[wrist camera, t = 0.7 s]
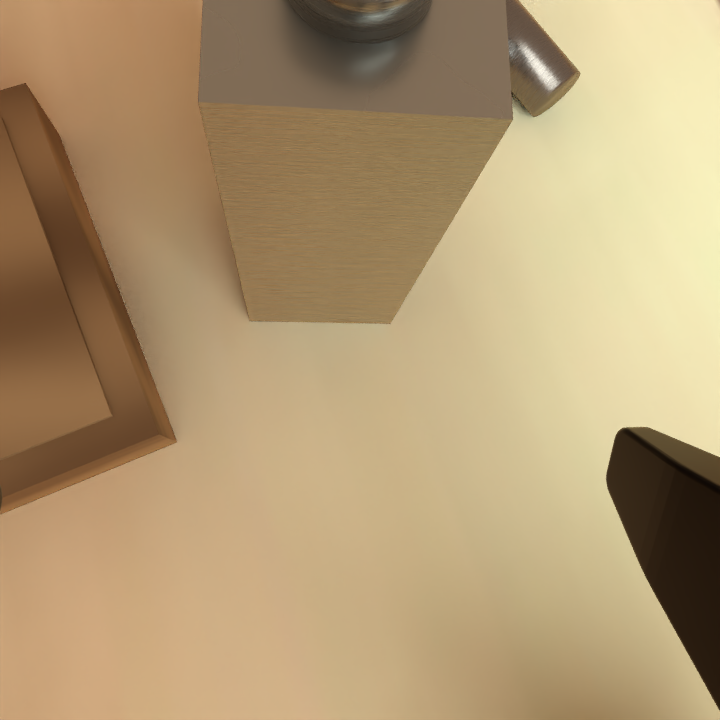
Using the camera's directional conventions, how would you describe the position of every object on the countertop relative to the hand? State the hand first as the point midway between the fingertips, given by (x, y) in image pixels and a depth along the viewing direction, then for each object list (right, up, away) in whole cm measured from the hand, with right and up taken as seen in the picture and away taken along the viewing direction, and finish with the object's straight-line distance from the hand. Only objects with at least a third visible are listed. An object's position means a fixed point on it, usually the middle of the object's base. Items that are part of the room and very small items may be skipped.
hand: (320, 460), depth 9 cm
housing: (-1, +5, +14) cm, 15 cm away
